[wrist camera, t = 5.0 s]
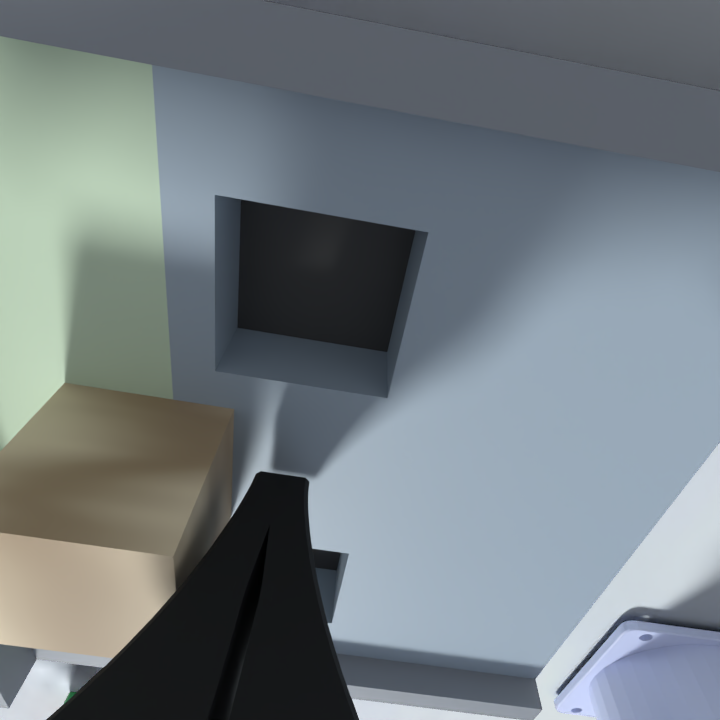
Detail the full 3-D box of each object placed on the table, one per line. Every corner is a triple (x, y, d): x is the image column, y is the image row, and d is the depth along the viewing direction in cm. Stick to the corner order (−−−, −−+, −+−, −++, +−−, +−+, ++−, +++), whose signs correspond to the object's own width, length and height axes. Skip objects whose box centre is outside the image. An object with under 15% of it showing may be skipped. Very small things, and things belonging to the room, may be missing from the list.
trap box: (836, 117, 10) (1160, 174, 6) (511, 625, 21) (543, 771, 17) (-127, -73, 9) (-570, -170, 5) (62, 565, 20) (-23, 704, 16)
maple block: (233, 409, 12) (172, 557, 8) (231, 516, 14) (182, 666, 11) (64, 382, 11) (-68, 523, 8) (89, 496, 14) (-8, 643, 10)
